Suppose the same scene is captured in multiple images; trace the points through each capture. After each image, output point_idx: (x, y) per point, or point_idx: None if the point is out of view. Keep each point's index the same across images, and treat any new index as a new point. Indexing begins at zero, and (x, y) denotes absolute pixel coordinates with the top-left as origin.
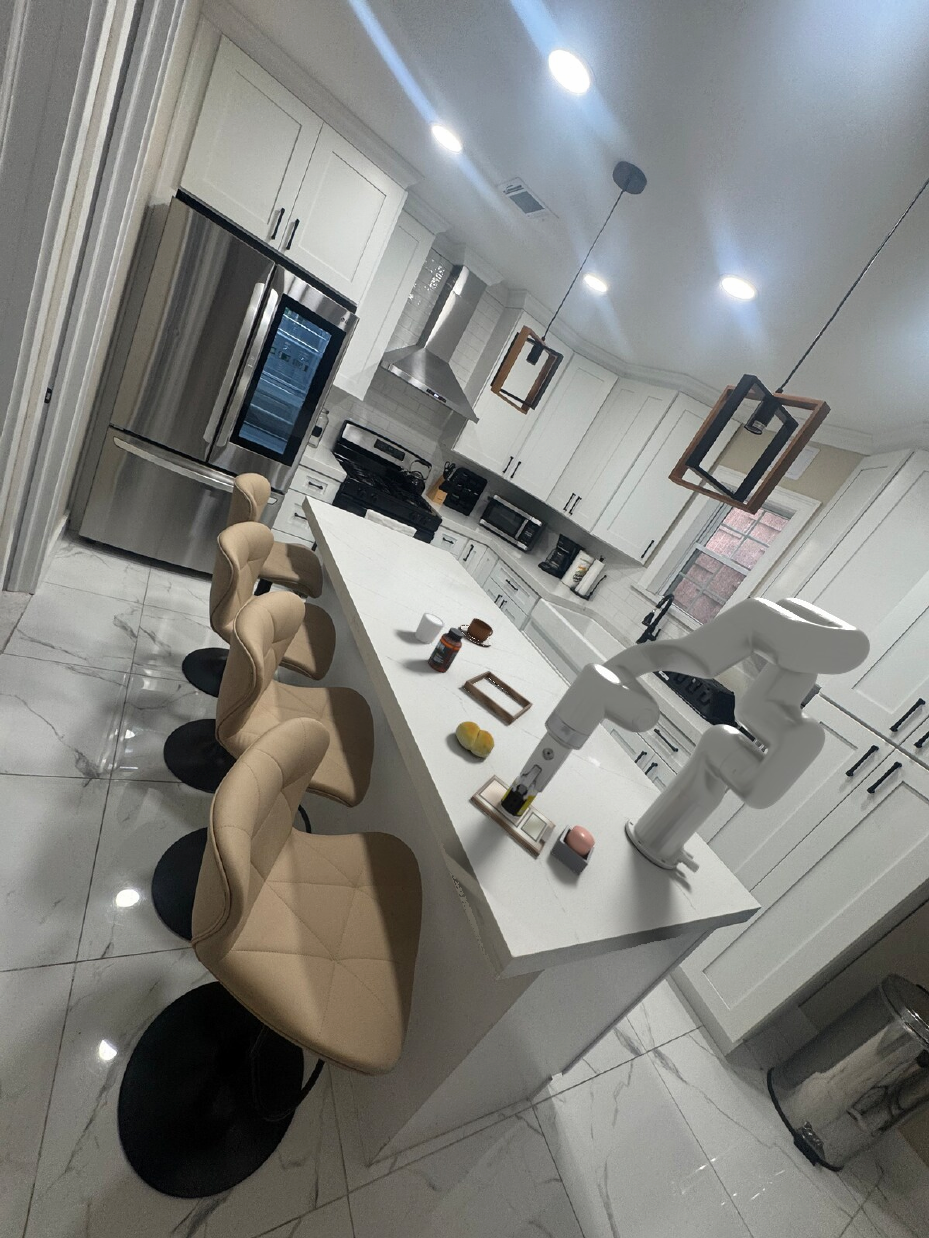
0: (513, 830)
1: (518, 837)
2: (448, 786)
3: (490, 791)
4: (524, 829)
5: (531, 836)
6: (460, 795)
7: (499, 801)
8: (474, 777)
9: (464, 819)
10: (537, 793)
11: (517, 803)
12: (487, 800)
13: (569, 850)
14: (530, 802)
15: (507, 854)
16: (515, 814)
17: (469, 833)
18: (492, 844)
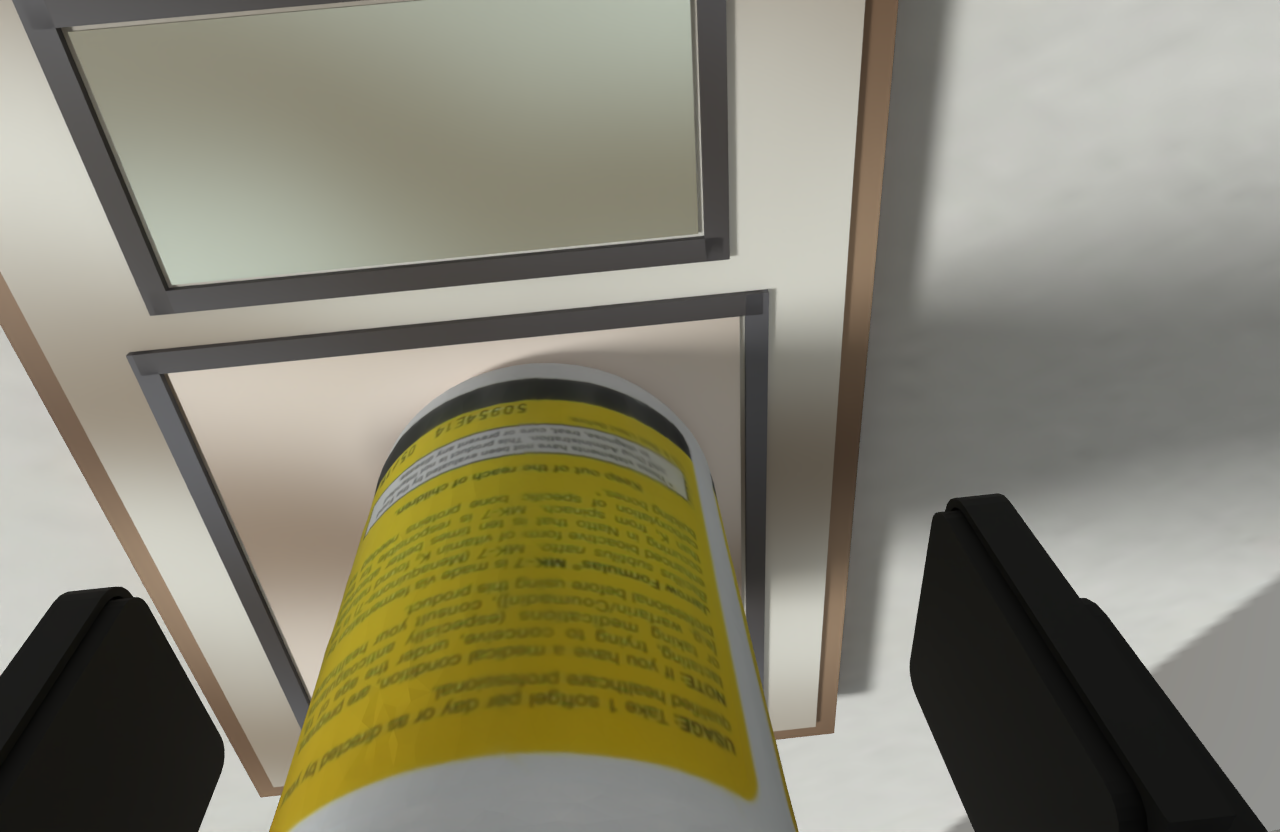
0: (856, 293)
1: (871, 183)
2: (879, 811)
3: None
4: (679, 209)
5: (701, 62)
6: (873, 741)
7: None
8: None
9: (1124, 603)
10: (517, 791)
11: (1196, 746)
12: None
13: None
14: (602, 585)
15: (1240, 127)
16: (1012, 519)
17: (1261, 506)
18: (1224, 317)
